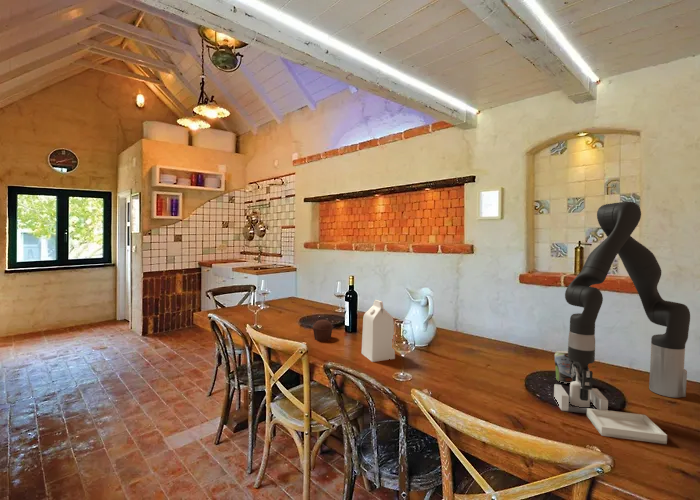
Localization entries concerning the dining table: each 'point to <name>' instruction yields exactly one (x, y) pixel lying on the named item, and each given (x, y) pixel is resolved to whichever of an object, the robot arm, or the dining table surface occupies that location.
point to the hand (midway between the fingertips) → (579, 394)
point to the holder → (563, 402)
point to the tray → (626, 426)
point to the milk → (378, 333)
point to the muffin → (322, 330)
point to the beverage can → (562, 367)
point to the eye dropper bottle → (577, 395)
